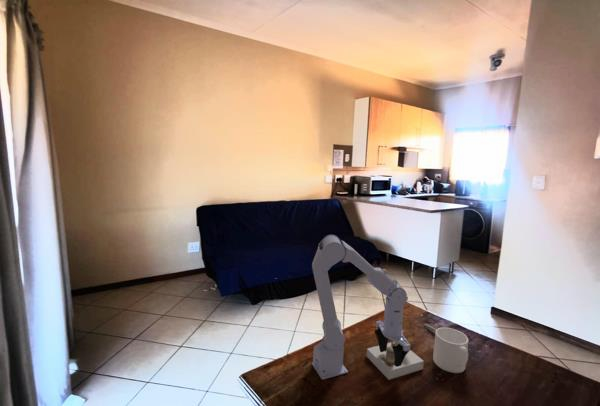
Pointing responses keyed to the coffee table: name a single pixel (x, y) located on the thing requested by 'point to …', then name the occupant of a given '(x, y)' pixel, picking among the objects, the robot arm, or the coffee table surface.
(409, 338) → the latch
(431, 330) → the caliper
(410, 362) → the white flat block
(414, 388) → the coffee table surface
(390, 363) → the peg
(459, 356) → the mug
